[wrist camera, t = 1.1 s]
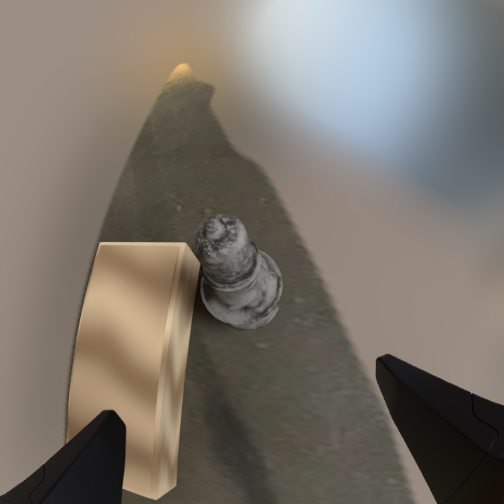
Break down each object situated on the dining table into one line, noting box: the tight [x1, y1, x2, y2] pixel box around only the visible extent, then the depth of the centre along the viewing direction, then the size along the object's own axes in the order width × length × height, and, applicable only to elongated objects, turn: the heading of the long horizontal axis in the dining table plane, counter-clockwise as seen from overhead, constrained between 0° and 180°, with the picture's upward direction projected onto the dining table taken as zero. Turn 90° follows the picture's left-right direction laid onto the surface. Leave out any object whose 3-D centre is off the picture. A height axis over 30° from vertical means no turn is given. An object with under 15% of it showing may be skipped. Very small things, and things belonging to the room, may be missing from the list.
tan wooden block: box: [67, 242, 200, 500], centre depth 20 cm, size 20×8×4 cm, turn 175°
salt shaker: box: [192, 214, 283, 330], centre depth 18 cm, size 6×6×12 cm
